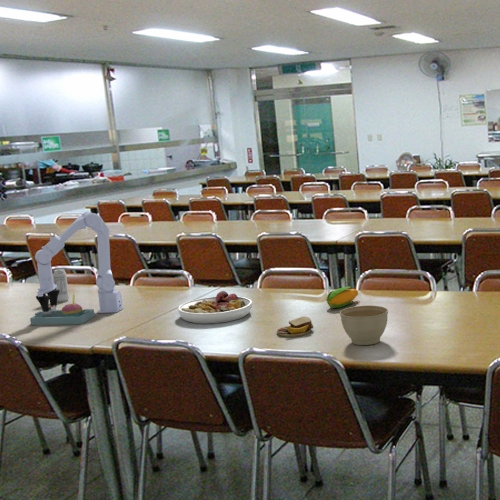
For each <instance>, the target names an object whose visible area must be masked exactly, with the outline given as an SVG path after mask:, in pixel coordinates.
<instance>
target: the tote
mask: <svg viewBox="0 0 500 500" xmlns="http://www.w3.org/2000/svg"><path fill="white" fill-rule="evenodd" d="M56 312H57V317H42V310H41V311H40V310H39V311H37V312H35V313H34V316H31V317H30V318H29V321H30V325H31V326H50V325H51V326H52V325H56V326H57V325H58V326H59V325H83V324H84V323H86V322H87V321H89V320H90V319H92V318H95V309H93V308H88V309H83V308H82V311H81V313H80V316H75V317H66V316H65V315H64V314H62V309H56Z"/></svg>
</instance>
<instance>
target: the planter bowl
mask: <svg viewBox="0 0 500 500" xmlns="http://www.w3.org/2000/svg"><path fill="white" fill-rule="evenodd" d="M388 313H389V310H388V308H387V307H385V306H380V305H356V306H351V307H347V308H343V309H342V310H340V312H339V315H340V321H341V325H342V328H343V329H344V331H345V333H346V335H347V337H348V338H349V339H350V340H351V343H352V344H354V345H357V346H370V345H375V344H377V343H379V342H380V341H381V337H382V336H383V334H384V332H385V331H386V328H387V324H388Z"/></svg>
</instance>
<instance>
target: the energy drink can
mask: <svg viewBox="0 0 500 500" xmlns="http://www.w3.org/2000/svg"><path fill="white" fill-rule="evenodd" d="M52 274H53V282H54V284H57V289H56V290H60V292H59V295H58V299H57V303H65V302H68V301H69V300H70V295H69V289H68V288H69V287H68V278H67V272H66V270H65V269H64V268H59V269H55V270H53V272H52Z"/></svg>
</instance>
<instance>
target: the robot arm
mask: <svg viewBox="0 0 500 500" xmlns="http://www.w3.org/2000/svg"><path fill="white" fill-rule="evenodd" d="M87 228H90V229H91V230H93V231H94V232H95V233H96V234H97V235H96V236H97V237H96V238H97V259H98V260H97V261H98V271H97V278H96V280H95V283H96V284H95V285H96V286H97V287H98V290H97V294H98V295H97V296H98V305H99V310H97V311H96V314H102V313H103V314H105V313H107V314H108V313H110V314H111V313H118V312H119V311H121V310H123V309H124V306H123V298H122V293H121V291H120V290H115V287H116V282H115V279H114V277H113V273H112V270H111V254H110V253H111V248H110V246H111V245H110V230H109V227H108V225H107V224H106V223H105V221H104V220H103V218H102V216H100V215H98V214H97V213H94V212H91V211H85V212H83V213H82V214H81V215H80V216H78V217H77V218H76V219H75V220H74V221H73V222H72V223H71V224H69V226H68V227H66V229H65V230H64V231H63V232H62V233H61V234H60V235H59V236H53V237H51V238H49V241H48V242H47V243H46V244H45V245H44V246H41V249H39V250H37V251H36V253H35V254H34V259H35V261H36V263H37V274H38V280H39V282H38V283H39V288H38V289H37V291H36V292H37V293H36V296H35V298H36V300H37V301H38V303H39V305H40V307H41V311H42V310H43V312H48V311H49V305H55V306H56V307H57V306H58V302H57V299H58V295H59V292H60V290H56V289H57V284H54V279H53V268H52V262H51V261H52V259H53V257H55V256H56V255H57V254H58V253H59V252H60V251H61V250H63V248H64V247H65V244H66V242H67V241H68V240H69V239H71V237H72V236H74V235H75V234H76V233H77V232H78V231H80V230H85V229H87ZM49 303H50V304H49Z"/></svg>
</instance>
